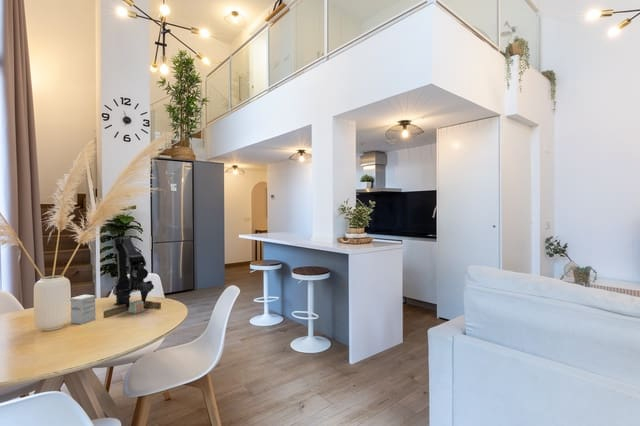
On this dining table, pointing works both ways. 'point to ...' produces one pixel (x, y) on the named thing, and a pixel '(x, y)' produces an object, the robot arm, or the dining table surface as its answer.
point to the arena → (124, 308)
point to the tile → (136, 312)
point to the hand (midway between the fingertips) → (136, 305)
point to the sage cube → (136, 306)
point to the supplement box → (82, 309)
